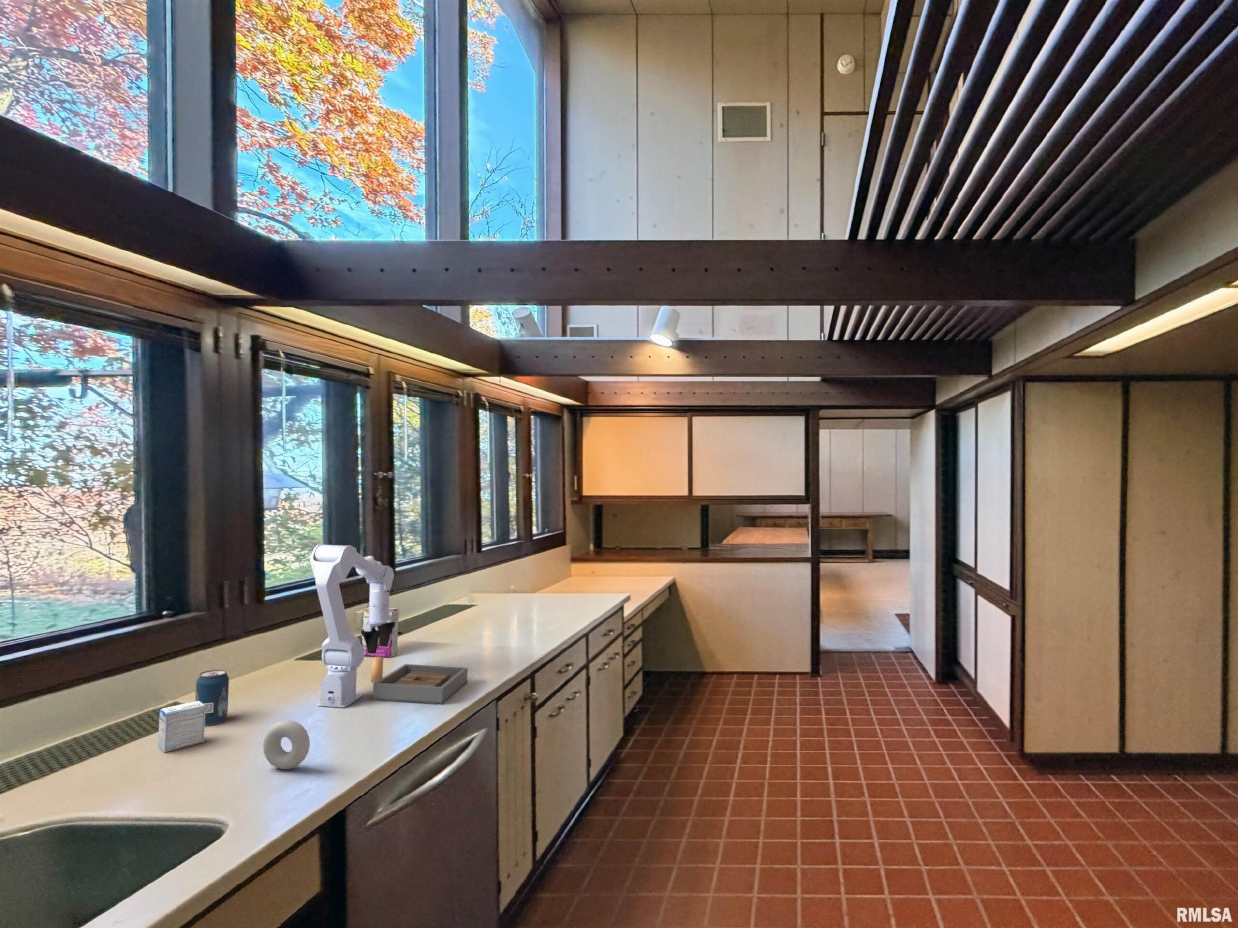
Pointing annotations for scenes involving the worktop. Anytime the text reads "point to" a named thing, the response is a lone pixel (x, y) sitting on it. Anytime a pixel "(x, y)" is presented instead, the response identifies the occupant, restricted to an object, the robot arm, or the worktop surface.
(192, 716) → the medicine box
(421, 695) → the tray
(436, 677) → the socket block
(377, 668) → the peg
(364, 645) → the candy bar box
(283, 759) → the donut
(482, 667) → the worktop surface
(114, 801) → the worktop surface
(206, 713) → the soda can
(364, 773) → the worktop surface
